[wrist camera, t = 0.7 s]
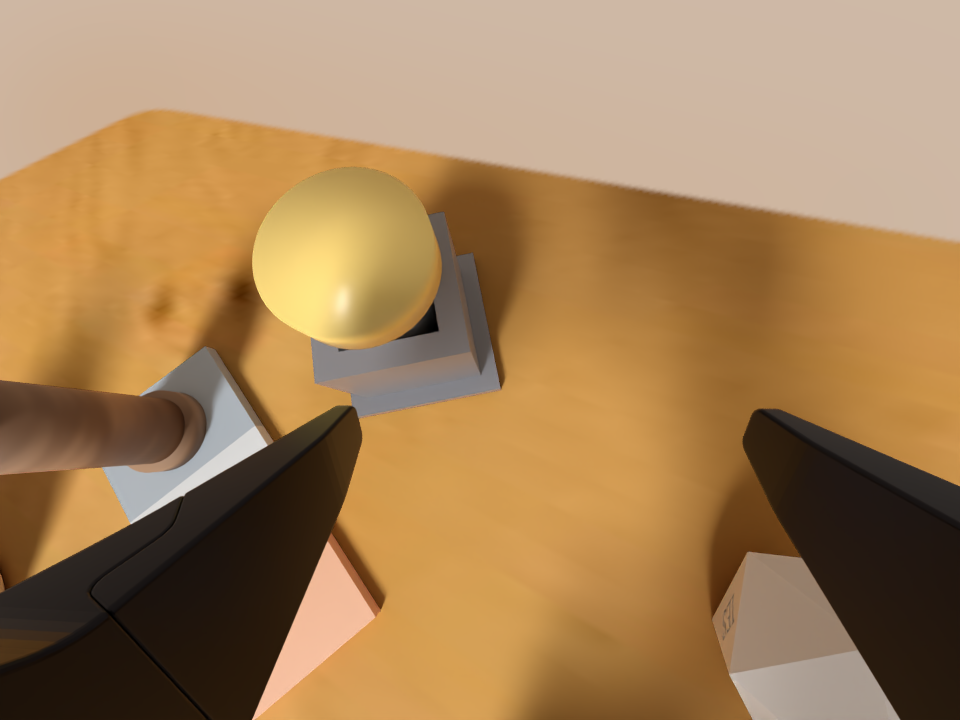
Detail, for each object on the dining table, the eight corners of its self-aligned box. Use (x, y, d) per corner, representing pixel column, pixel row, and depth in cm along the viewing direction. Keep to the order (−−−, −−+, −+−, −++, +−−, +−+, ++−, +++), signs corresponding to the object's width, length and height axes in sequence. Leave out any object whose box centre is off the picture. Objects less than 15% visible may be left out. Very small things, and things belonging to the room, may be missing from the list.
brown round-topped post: (202, 468, 22) (-127, 502, 11) (128, 473, 22) (-272, 511, 11) (209, 389, 23) (-84, 342, 12) (138, 395, 23) (-218, 354, 12)
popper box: (500, 390, 22) (497, 369, 16) (358, 418, 23) (294, 410, 16) (474, 258, 24) (460, 189, 18) (343, 286, 25) (280, 228, 18)
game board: (380, 610, 20) (375, 616, 20) (247, 722, 20) (237, 734, 19) (214, 349, 24) (205, 346, 24) (99, 435, 24) (86, 435, 23)
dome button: (470, 361, 19) (446, 314, 12) (351, 385, 19) (257, 354, 12) (449, 251, 20) (417, 150, 13) (338, 275, 21) (248, 188, 13)
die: (675, 519, 21) (701, 723, 13) (874, 491, 17) (1112, 769, 8) (730, 628, 22) (787, 880, 14) (929, 627, 18) (1186, 989, 10)
